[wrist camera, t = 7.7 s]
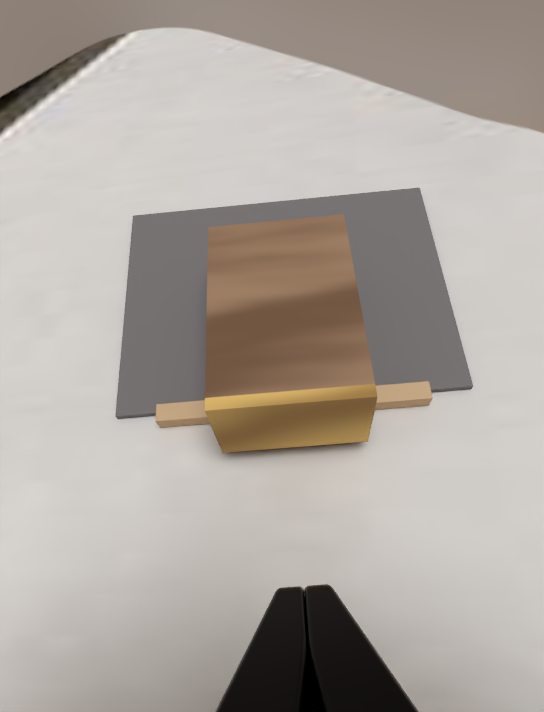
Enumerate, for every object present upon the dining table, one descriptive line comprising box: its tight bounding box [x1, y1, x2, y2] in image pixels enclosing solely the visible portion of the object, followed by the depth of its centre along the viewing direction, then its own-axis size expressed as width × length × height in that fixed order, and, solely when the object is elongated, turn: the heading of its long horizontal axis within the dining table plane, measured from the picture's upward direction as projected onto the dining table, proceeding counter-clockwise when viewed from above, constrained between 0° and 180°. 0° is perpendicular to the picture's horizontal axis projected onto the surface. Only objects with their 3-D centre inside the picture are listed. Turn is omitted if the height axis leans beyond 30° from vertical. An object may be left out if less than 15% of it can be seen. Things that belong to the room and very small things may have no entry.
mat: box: [116, 188, 473, 427], centre depth 25 cm, size 13×16×1 cm
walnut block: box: [205, 214, 378, 453], centre depth 22 cm, size 4×6×9 cm
